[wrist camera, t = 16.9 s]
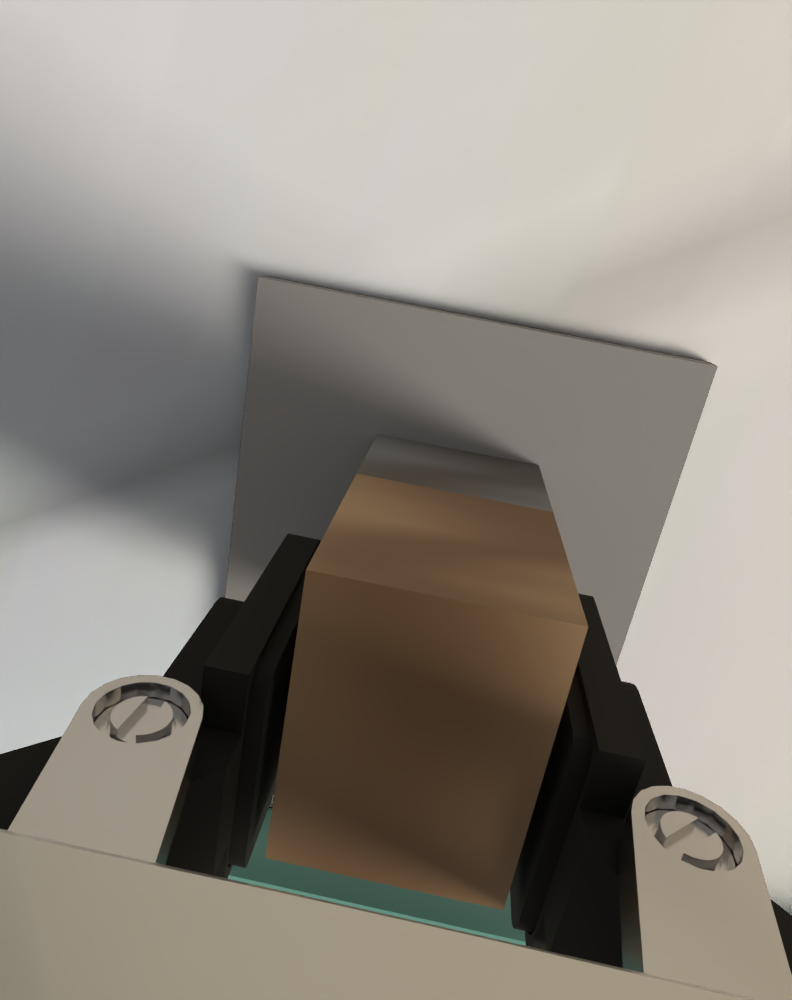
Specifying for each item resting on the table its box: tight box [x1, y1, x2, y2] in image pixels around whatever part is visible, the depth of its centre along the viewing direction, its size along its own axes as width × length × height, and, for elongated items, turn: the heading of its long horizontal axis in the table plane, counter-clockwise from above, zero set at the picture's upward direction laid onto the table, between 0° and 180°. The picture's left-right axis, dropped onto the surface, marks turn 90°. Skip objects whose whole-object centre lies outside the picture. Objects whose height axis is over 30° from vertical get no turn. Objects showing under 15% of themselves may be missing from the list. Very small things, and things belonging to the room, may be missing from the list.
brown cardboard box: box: [265, 434, 588, 910], centre depth 11 cm, size 3×4×6 cm
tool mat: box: [225, 276, 717, 664], centre depth 14 cm, size 8×10×1 cm
